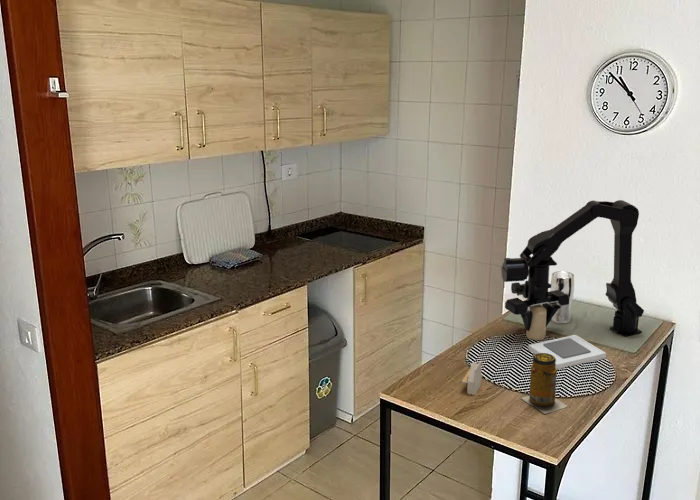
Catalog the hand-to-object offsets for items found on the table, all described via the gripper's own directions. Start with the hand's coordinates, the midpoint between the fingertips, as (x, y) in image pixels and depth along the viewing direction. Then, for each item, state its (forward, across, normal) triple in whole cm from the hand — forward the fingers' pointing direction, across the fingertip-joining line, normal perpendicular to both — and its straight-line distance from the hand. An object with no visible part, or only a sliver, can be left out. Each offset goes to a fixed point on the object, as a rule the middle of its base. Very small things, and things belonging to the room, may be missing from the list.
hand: (536, 328), depth 193 cm
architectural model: (+3, +32, +19) cm, 38 cm away
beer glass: (+3, -14, -7) cm, 16 cm away
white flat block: (+2, -1, +13) cm, 13 cm away
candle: (+3, 0, 0) cm, 3 cm away
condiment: (+3, +20, +32) cm, 38 cm away
